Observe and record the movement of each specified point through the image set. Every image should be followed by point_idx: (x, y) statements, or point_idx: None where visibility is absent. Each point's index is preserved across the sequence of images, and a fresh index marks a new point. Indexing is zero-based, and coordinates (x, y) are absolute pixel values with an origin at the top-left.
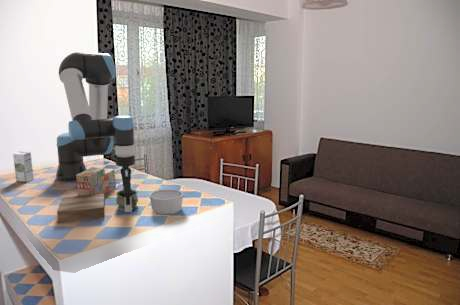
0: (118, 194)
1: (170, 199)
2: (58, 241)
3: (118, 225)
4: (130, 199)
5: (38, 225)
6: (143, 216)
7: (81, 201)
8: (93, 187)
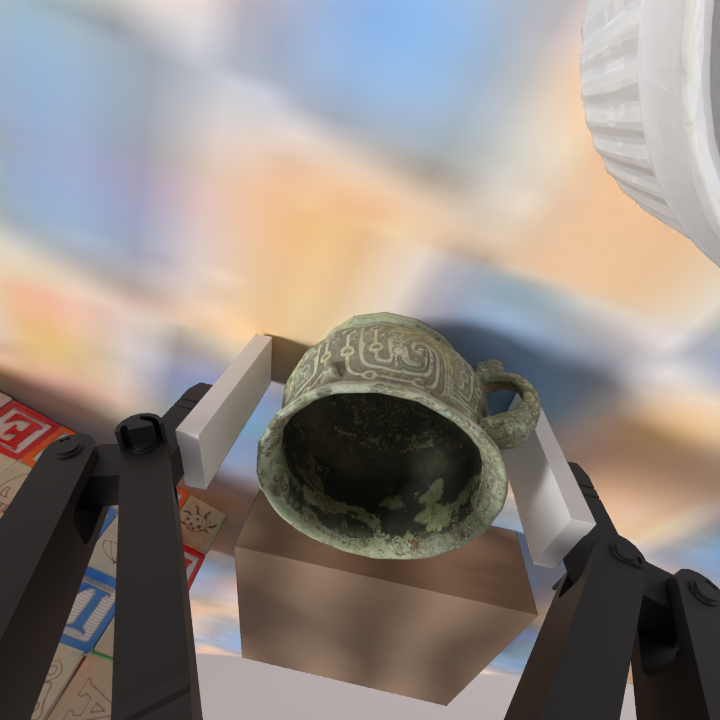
0: (325, 508)
1: None
2: (630, 667)
3: (697, 512)
4: (573, 493)
5: None
6: (712, 340)
7: (346, 639)
8: None
